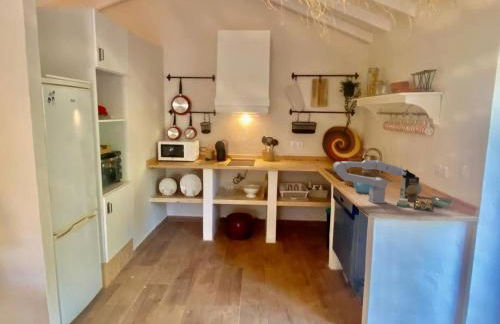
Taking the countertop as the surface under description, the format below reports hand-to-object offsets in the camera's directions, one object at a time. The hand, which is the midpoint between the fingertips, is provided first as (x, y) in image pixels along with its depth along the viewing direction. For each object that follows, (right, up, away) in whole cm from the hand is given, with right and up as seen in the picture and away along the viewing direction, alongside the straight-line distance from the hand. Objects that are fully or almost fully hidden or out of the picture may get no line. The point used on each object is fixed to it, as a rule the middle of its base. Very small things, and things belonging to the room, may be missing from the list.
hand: (412, 175), depth 213 cm
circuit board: (-8, -19, -4) cm, 21 cm away
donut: (+11, -15, +21) cm, 28 cm away
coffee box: (+2, -17, +10) cm, 20 cm away
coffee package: (-22, -10, +53) cm, 58 cm away
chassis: (+2, -20, -9) cm, 22 cm away
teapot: (-20, -13, +32) cm, 40 cm away
